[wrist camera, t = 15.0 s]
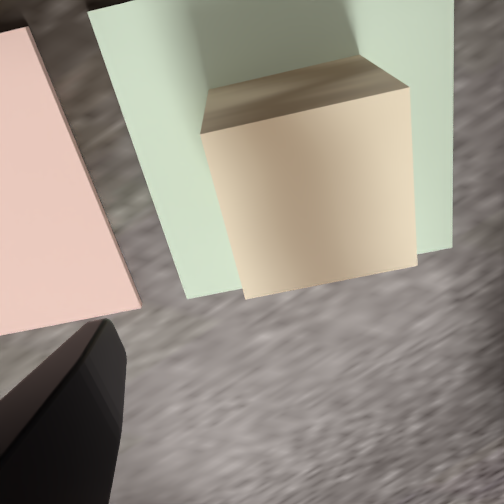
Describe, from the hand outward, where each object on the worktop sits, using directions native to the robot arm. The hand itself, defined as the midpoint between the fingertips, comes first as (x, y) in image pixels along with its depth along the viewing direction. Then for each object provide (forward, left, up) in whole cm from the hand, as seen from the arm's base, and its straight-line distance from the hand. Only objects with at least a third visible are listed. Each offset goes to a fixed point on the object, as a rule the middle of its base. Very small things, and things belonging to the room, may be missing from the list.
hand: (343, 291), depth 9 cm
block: (0, 0, -9) cm, 9 cm away
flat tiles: (+6, 0, -9) cm, 11 cm away
